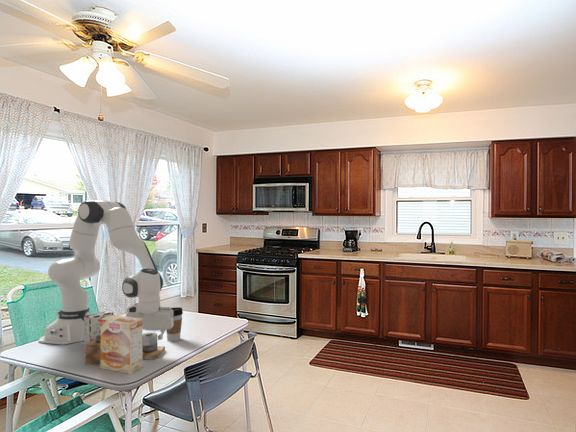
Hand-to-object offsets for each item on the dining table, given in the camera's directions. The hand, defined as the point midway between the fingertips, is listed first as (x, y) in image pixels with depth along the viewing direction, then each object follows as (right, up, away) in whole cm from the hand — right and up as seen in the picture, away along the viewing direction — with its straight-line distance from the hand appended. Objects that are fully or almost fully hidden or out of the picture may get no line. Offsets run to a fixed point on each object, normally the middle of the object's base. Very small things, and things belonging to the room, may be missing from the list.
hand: (149, 339), depth 164 cm
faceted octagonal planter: (0, -2, 0) cm, 2 cm away
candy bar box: (-24, -7, +5) cm, 25 cm away
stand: (-18, -7, -8) cm, 21 cm away
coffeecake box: (-6, -7, -14) cm, 17 cm away
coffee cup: (+5, -7, +20) cm, 22 cm away
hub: (0, -7, 0) cm, 7 cm away
